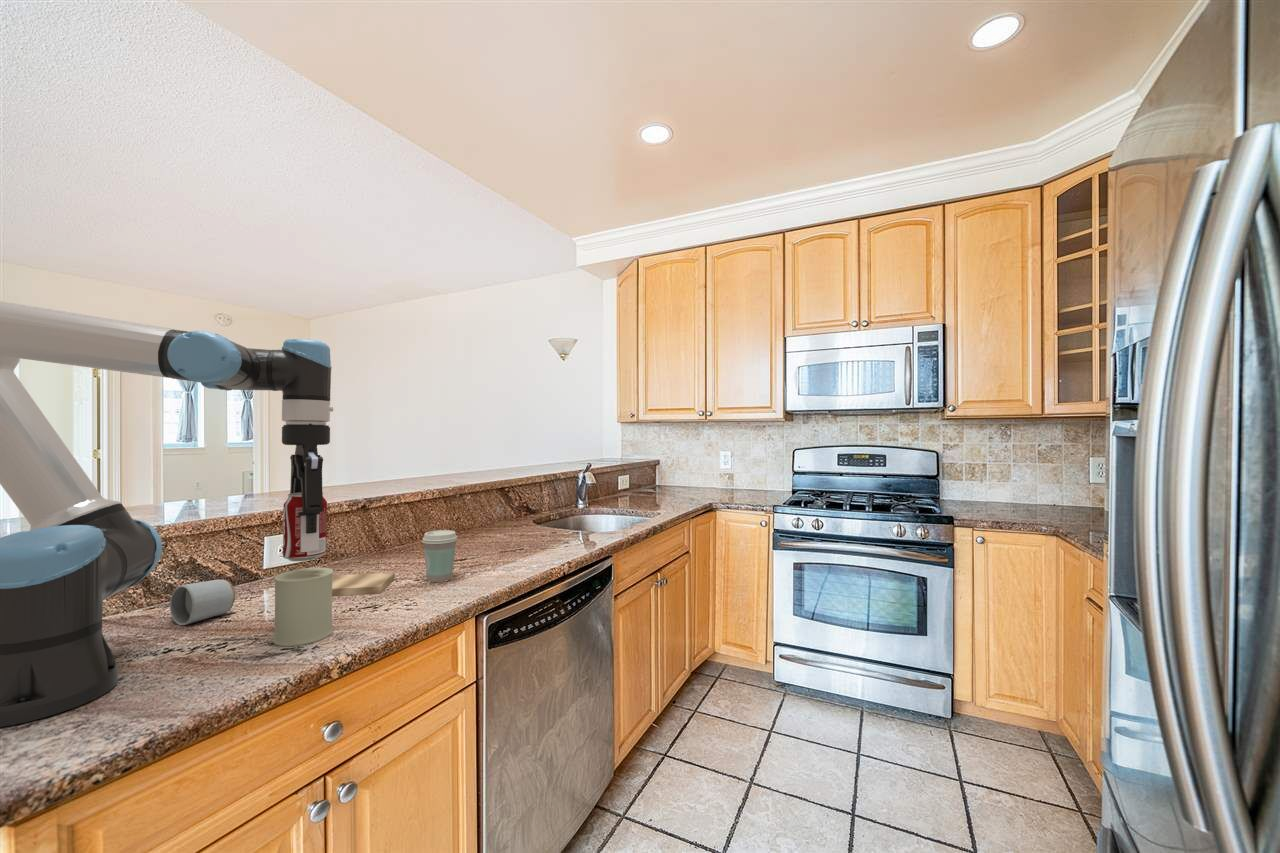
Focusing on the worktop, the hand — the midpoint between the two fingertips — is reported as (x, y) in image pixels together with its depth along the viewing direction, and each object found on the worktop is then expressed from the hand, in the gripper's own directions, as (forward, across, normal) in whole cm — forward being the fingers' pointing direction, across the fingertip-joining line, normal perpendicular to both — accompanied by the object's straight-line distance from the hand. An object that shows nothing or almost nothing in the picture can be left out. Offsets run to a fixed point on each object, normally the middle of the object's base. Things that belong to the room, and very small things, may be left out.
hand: (304, 547), depth 95 cm
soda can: (+2, 0, 0) cm, 2 cm away
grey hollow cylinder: (+17, +25, +13) cm, 33 cm away
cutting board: (+16, +26, -15) cm, 35 cm away
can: (+17, 0, 0) cm, 17 cm away
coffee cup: (+17, +19, -33) cm, 42 cm away
